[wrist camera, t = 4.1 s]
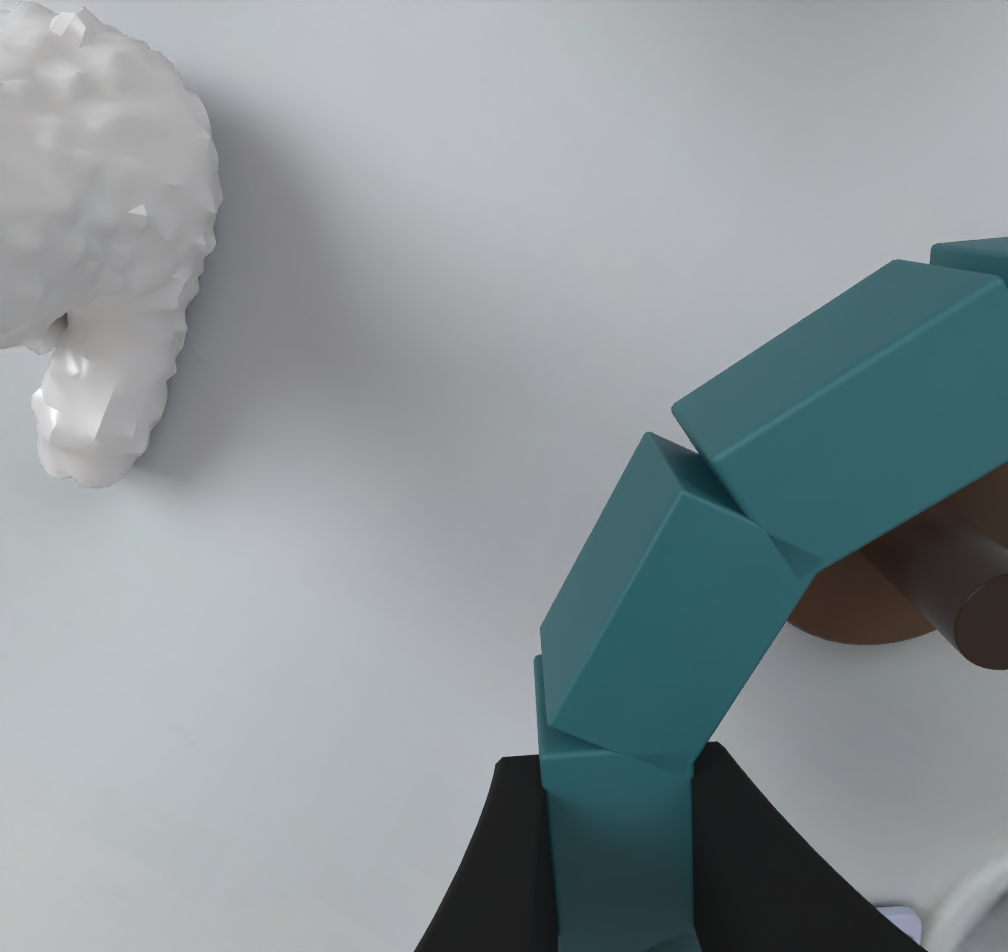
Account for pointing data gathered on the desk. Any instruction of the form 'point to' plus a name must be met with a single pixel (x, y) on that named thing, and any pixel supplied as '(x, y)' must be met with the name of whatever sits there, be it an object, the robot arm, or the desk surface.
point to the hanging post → (924, 580)
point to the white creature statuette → (98, 230)
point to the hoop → (745, 563)
